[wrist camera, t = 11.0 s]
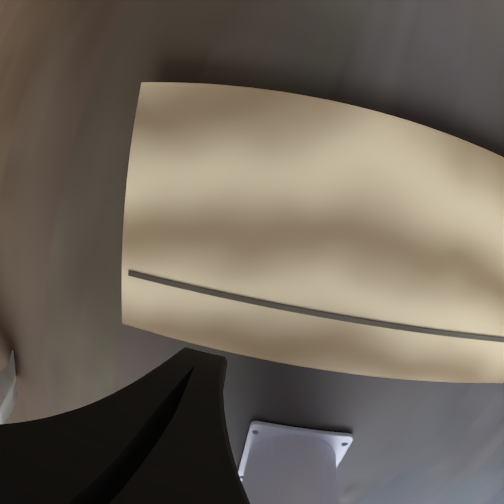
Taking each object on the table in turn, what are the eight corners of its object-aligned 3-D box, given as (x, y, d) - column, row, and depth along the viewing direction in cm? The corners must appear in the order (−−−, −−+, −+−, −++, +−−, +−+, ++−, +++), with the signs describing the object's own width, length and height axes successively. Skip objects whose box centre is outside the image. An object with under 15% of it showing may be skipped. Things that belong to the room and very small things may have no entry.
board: (529, 368, 17) (540, 381, 15) (136, 309, 20) (121, 324, 18) (584, 209, 13) (600, 214, 11) (157, 89, 16) (140, 81, 14)
